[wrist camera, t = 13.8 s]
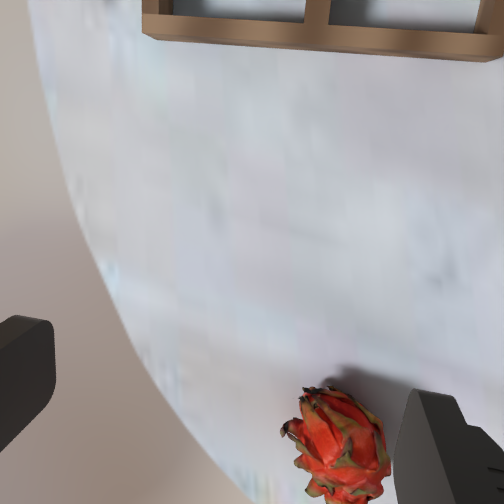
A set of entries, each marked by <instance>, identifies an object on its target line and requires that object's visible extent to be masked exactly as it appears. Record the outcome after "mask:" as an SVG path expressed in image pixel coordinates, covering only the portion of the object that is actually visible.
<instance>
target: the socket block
mask: <svg viewBox="0 0 504 504" xmlns="http://www.w3.org/2000/svg"><path fill="white" fill-rule="evenodd" d="M330 6H331V0H306V6H305V16H304V23H290V22H274V21H257V20H241V19H225V18H208V17H192V16H176V15H173V0H142V33H144V34H146V35H148V36H150V37H152V38H154V39H156V40H164V41H178V42H193V43H208V44H222V45H237V46H251V47H266V48H281V49H295V50H310V51H324V52H339V53H354V54H368V55H383V56H397V57H412V58H427V59H441V60H456V61H470V62H488V61H491V60H494V59H497V58H500V57H503V53H504V0H481V1H480V6H479V10H478V15H477V19H476V24H475V28H474V33H473V34H470V33H453V32H437V31H421V30H404V29H388V28H372V27H355V26H339V25H328V22H329V14H330Z"/></svg>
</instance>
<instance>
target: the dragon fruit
mask: <svg viewBox="0 0 504 504" xmlns="http://www.w3.org/2000/svg"><path fill="white" fill-rule="evenodd" d="M327 387H328V388H329V390H330V391H329V390H327V389H322V388H319V389H316V388H315V387H310V388H304V387H302V388H303V391H304V392H305V393H304V394H303V395H302V396H301V397H299V398H298V399H300V401H299V406H300V411H301V414H302V417H303V420H302V419H298V418H293V419H292V420H289V421H287V422H286V423H284V424H283V427H282V428H281V430H280V434H281V436H282V438H283V437H284V436H285V434H286V433H287V435H288V437H289V438H290V439H291V440H293V441H294V442H296V449H297V450H298V451H300V452H302V453H303V454H301V455H300V456H299V457H297V458H296V459H295V460H294V465H295V466H297V467H298V468H302V469H304V470H305V471H307V472H310V473H311V474H312V479H311V480H310V482H309V484H308V486H307V488H306V489H305V492H306V493H307V494H308V495H309V496H311V497H319V496H321V495H323V494H324V497H325V501H326V504H368V501H370V500H373V499H376V498H378V497H379V496H381V495H382V494H383V492H384V489H383V486H382V484H381V480H382V479H383V478H384V477H387V476H390V475H391V461H390V457H389V456H388V455H387V453H386V443H385V437H384V432H383V423H382V421H381V420H380V419H379V418H377V417H376V416H374V415H373V414H372V413H370V412H369V411H368V410H367V409H366V408H365V407H364V406H363V405H362V404H360V403H359V402H358V401H356V400H355V399H354V398H353V397H352V396H351V395H349V394H345V393H343V392H341V391H340V390H338V389H336V388H335V387H333V386H327ZM288 432H290V433H292V434H294V435H295V436H296V437H297V438H298V439H297V438H295V437H294V436H293V435H292V434H290V433H288Z"/></svg>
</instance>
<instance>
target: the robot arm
mask: <svg viewBox="0 0 504 504" xmlns="http://www.w3.org/2000/svg"><path fill="white" fill-rule="evenodd" d="M55 384H56V365H55V345H54V329H53V326H52V324H51V323H50V322H49V321H47V320H42V319H37V318H31V317H26V316H20V315H14V316H11V317H10V318H8V319H6V320H5V321H3V322H2V323H0V452H1V451H2V450H3V449H4V448H5V447H6V446H7V445H8V444H9V443H10V442H11V441H12V440H13V439H14V438H15V437H16V436H17V435H18V434H19V433H20V432H21V431H22V430H23V429H24V428H25V427H26V426H27V425H28V424H29V423H30V422H31V421H32V420H33V419H34V418H35V417H36V416H37V415H38V414H39V413H40V412H41V411H42V410H43V409H44V408H45V407H46V405H47V404H48V403H49V401H50V399H51V397H52V395H53V392H54V389H55ZM393 475H394V484H395V490H396V495H397V500H398V504H504V452H503V450H502V448H501V447H500V446H499V445H498V444H497V443H496V442H495V441H494V440H493V439H492V438H491V437H490V436H489V435H488V434H487V433H486V432H485V431H484V430H482V429H481V428H480V427H477V426H471V425H467V423H466V421H465V419H464V417H463V415H462V412H461V410H460V408H459V406H458V404H457V402H456V400H455V398H454V397H453V396H451V395H446V394H440V393H435V392H429V391H424V390H418V389H413V390H412V391H411V393H410V395H409V398H408V402H407V405H406V409H405V413H404V417H403V421H402V425H401V429H400V433H399V436H398V440H397V444H396V448H395V454H394V463H393Z"/></svg>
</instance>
